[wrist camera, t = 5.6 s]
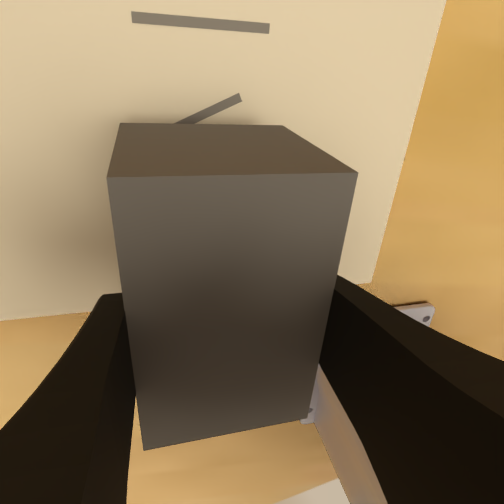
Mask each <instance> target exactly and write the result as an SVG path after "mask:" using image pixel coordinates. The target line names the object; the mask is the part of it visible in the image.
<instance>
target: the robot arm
mask: <svg viewBox="0 0 504 504" xmlns="http://www.w3.org/2000/svg"><path fill="white" fill-rule="evenodd" d="M434 312H435V307H434V306H433V305H432V304H430V303H423V304H415V305H407V306H399V307H392V306H390V305H389V304H387V303H385V302H384V301H382V300H380V299H379V298H377V297H375V296H374V295H372V294H370V293H369V292H367V291H365V290H364V289H362V288H360V287H359V286H357V285H355V284H354V283H352V282H350V281H349V280H347V279H345V278H343V277H341V276H339V275H337V278H336V283H335V287H334V291H333V296H332V301H331V305H330V310H329V315H328V320H327V325H326V329H325V334H324V339H323V344H322V349H321V353H320V358H319V364H318V369H317V374H316V378H315V383H314V388H313V393H312V398H311V402H310V407H309V412H308V417H307V418H306V419H301V420H300V423H301V424H310V423H314V424H315V426H316V428H317V430H318V433H319V435H320V437H321V439H322V442H323V444H324V446H325V448H326V451H327V453H328V455H329V457H330V460H331V462H332V464H333V466H334V469H335V471H336V473H337V475H338V478H339V479H340V482H341V484H342V487H343V489H344V491H345V493H346V496H347V498H348V500H349V502H350V504H504V361H502V360H499V359H497V358H494V357H492V356H490V355H487V354H485V353H482V352H480V351H478V350H476V349H473V348H471V347H469V346H467V345H465V344H462V343H460V342H458V341H456V340H454V339H452V338H449V337H447V336H445V335H443V334H441V333H439V332H437V331H435V330H434V329H432V328H430V327H429V325H430V322H431V320H432V317H433V315H434ZM135 398H136V389H135V381H134V374H133V366H132V359H131V352H130V344H129V337H128V329H127V322H126V315H125V311H124V304H123V296H122V293H112V294H103V295H102V296H101V297H100V298H99V299H98V301H97V302H96V304H95V306H94V308H93V310H92V311H91V313H90V315H89V316H88V318H87V320H86V321H85V323H84V324H83V326H82V327H81V329H80V331H79V332H78V334H77V335H76V337H75V338H74V339H73V341H72V342H71V344H70V345H69V347H68V348H67V350H66V351H65V352H64V354H63V355H62V357H61V358H60V359H59V361H58V362H57V363H56V365H55V366H54V367H53V368H52V370H51V371H50V372H49V374H48V375H47V376H46V377H45V379H44V380H43V381H42V383H41V384H40V385H39V386H38V388H37V389H36V390H35V391H34V393H33V394H32V395H31V396H30V397H29V398H28V400H27V401H26V402H25V403H24V404H23V405H22V407H21V408H20V409H19V410H18V411H17V412H16V413H15V414H14V416H13V417H12V418H11V419H10V420H9V421H8V422H7V423H6V424H5V425H4V427H3V428H2V429H1V430H0V504H126V497H127V480H128V469H129V459H130V449H131V438H132V428H133V418H134V408H135Z"/></svg>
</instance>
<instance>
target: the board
mask: <svg viewBox="0 0 504 504" xmlns="http://www.w3.org/2000/svg"><path fill="white" fill-rule="evenodd" d="M445 4H446V0H0V321H5V320H14V319H24V318H34V317H43V316H53V315H63V314H72V313H82V312H91V311H92V310H93V308H94V306H95V304H96V302H97V301H98V299H99V298H100V297H101V296H102V295H103V294H112V293H122V289H121V282H120V274H119V267H118V260H117V252H116V245H115V238H114V230H113V223H112V216H111V208H110V201H109V194H108V186H107V179H106V177H107V173H108V169H109V165H110V161H111V157H112V153H113V149H114V145H115V141H116V137H117V133H118V129H119V125H120V123H168V124H233V125H283V126H284V127H286V128H288V129H289V130H291V131H292V132H294V133H296V134H297V135H299V136H301V137H302V138H304V139H305V140H307V141H309V142H310V143H312V144H313V145H315V146H317V147H318V148H320V149H321V150H323V151H325V152H326V153H328V154H329V155H331V156H333V157H334V158H336V159H338V160H339V161H341V162H342V163H344V164H346V165H347V166H349V167H350V168H352V169H354V170H355V171H357V172H358V177H357V182H356V187H355V192H354V196H353V201H352V206H351V211H350V216H349V220H348V225H347V230H346V235H345V240H344V244H343V249H342V254H341V259H340V264H339V268H338V273H337V275H339V276H341V277H343V278H345V279H347V280H349V281H350V282H352V283H354V284H363V283H371V281H372V277H373V273H374V270H375V266H376V262H377V258H378V255H379V251H380V247H381V243H382V240H383V236H384V232H385V229H386V225H387V221H388V217H389V214H390V210H391V206H392V202H393V199H394V195H395V191H396V187H397V184H398V180H399V176H400V172H401V169H402V165H403V161H404V157H405V154H406V150H407V146H408V142H409V139H410V135H411V131H412V127H413V124H414V120H415V116H416V112H417V109H418V105H419V101H420V97H421V94H422V90H423V86H424V82H425V79H426V75H427V71H428V67H429V64H430V60H431V56H432V52H433V49H434V45H435V41H436V37H437V34H438V30H439V26H440V22H441V19H442V15H443V11H444V7H445Z"/></svg>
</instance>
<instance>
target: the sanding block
mask: <svg viewBox="0 0 504 504" xmlns="http://www.w3.org/2000/svg"><path fill="white" fill-rule="evenodd" d="M357 177H358V172H357V171H355V170H354V169H352V168H350V167H349V166H347V165H346V164H344V163H342V162H341V161H339V160H338V159H336V158H334V157H333V156H331V155H329V154H328V153H326V152H325V151H323V150H321V149H320V148H318V147H317V146H315V145H313V144H312V143H310V142H309V141H307V140H305V139H304V138H302V137H301V136H299V135H297V134H296V133H294V132H292V131H291V130H289V129H288V128H286V127H284V126H283V125H233V124H168V123H120V125H119V129H118V133H117V137H116V141H115V145H114V149H113V153H112V157H111V161H110V165H109V169H108V173H107V177H106V179H107V186H108V194H109V201H110V208H111V216H112V223H113V230H114V238H115V245H116V252H117V260H118V267H119V274H120V282H121V289H122V296H123V304H124V311H125V315H126V322H127V329H128V337H129V344H130V352H131V359H132V366H133V374H134V381H135V389H136V399H137V406H138V414H139V421H140V428H141V436H142V443H143V450H144V451H145V450H150V449H155V448H160V447H165V446H170V445H175V444H180V443H185V442H190V441H195V440H201V439H206V438H211V437H216V436H221V435H226V434H231V433H236V432H241V431H246V430H251V429H256V428H261V427H266V426H271V425H276V424H281V423H286V422H291V421H296V420H301V419H306V418H307V417H308V412H309V407H310V402H311V398H312V393H313V388H314V383H315V378H316V374H317V369H318V364H319V358H320V353H321V349H322V344H323V339H324V334H325V329H326V325H327V320H328V315H329V310H330V305H331V301H332V296H333V291H334V287H335V283H336V278H337V273H338V268H339V264H340V259H341V254H342V249H343V244H344V240H345V235H346V230H347V225H348V220H349V216H350V211H351V206H352V201H353V196H354V192H355V187H356V182H357Z"/></svg>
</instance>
